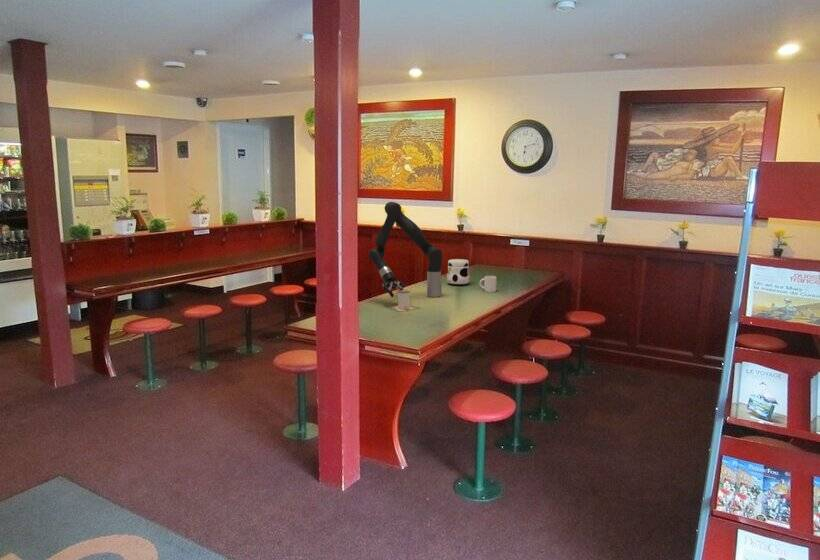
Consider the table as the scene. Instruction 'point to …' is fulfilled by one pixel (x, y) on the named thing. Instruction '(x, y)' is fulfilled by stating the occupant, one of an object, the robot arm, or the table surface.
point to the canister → (403, 299)
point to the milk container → (458, 272)
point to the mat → (403, 309)
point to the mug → (489, 283)
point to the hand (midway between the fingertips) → (398, 295)
